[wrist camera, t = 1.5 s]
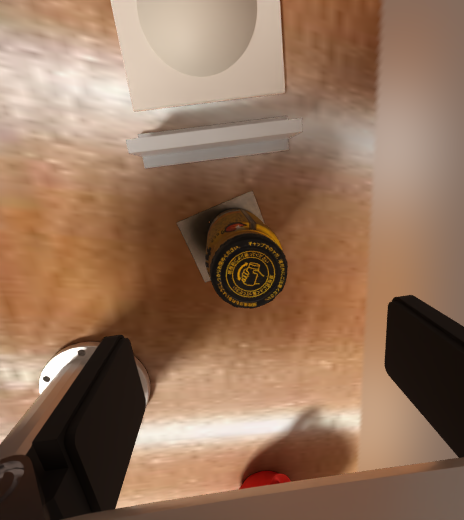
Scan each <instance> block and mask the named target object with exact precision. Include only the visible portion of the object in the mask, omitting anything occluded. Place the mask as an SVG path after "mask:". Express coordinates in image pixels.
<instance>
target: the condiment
mask: <svg viewBox="0 0 464 520" xmlns="http://www.w3.org/2000/svg"><path fill="white" fill-rule="evenodd" d="M209 221H210V223H208V222H209ZM177 225H178V227H179V229H180V231H181V233H182V235H183V237H184V239H185V241H186V243H187V245H188V247H189V249H190V252H191V254H192V256H193V258H194V260H195V262H196V264H197V267H198V269H199V271H200V273H201V275H202V277H203V279H204V281H205V282H208V281H211V282H212V285H213V287H214V289H215V291H216V292H217V294H218V295H219V296H220V297H221V298H222V299H223V300H224V301H225V302H227V303H229V304H231V305H233V306H234V307H240V308H256V307H259V306H262V305H265V304H266V303H269V302H270V301H272V300H273V299H274V298H275V297H276V296H277V295H278V294H279V293H280V292H281V291H282V289H283V287H284V285H285V282H286V278H287V267H288V265H287V261H286V258H285V255H284V253H283V250H282V246H281V244H280V241H279V240H278V238H277V237H276V235H275V234H274V233H273V232H272V231H271V230H270V229H269V228H268V227H267V226H266V225H265V223H264V220H263V218H262V215H261V212H260V210H259V207H258V204H257V201H256V199H255V196H254V193H253V191H250V192H248V193H246V194H243V195H241V196H238V197H236V198H234V199H231V200H229V201H227V202H224V203H222V204H219V205H217V206H215V207H212V208H210V209H208V210H206V211H203V212H201V213H198V214H196V215H193V216H191V217H189V218H187V219H184V220H182V221H179V222H177Z"/></svg>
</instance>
